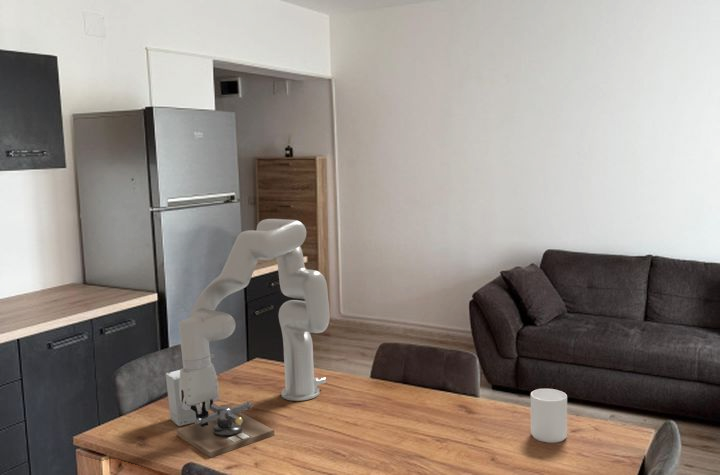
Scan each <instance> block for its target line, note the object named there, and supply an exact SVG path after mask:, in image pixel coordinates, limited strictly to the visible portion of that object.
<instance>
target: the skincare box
mask: <svg viewBox="0 0 720 475" xmlns="http://www.w3.org/2000/svg"><path fill="white" fill-rule="evenodd" d="M180 370H181V369H177V370H173V371H170V372H166V373H165V379H166V380H165V381H166V382H165V383H166V389H167V398H168V407H169V408H168V409H169V418H170V420H171V421H172V422H173V423H174V424H175V425H177V426H178V427H183V426H186V425H191V424H195V423H194V421H195V419H196V412H195V411H193V410H183V409H182V404H183V402H181V401H180V393H179V379H180Z"/></svg>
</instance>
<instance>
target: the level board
mask: <svg viewBox="0 0 720 475" xmlns="http://www.w3.org/2000/svg"><path fill="white" fill-rule="evenodd" d="M234 415H236V416H238V417H241V418H242V420H243V422H242V431H241V432H240V433H238V434H236V435H233V436H228V437H220V436H216V435H214V433H213V427H214V426H215V425H217V424H218V422H217V419H216V420H213V421H210V422H208V425H207V426H206V425H205V426H204V427H202V426H200V425H199V426H197V425H195V424H193V425H189V426H187V427H183V428H180V429H177V430H176V435H177V437H179V438H181V439H182V440H184V441H185V442H187V444H189V445H190V446H192V447H194V448H195V449H197V450H199V451H200V452H201V453H203V454H204V455H206V456H208V457H209V458H214V457H217V456H219V455H222V454H225V453H228V452H231V451H233V450H236V449H239V448H241V447H245V446H247V445H250V444H254V443H255V442H259V441H261V440H264V439H267V438H270V437H273V436H275V430H274V429H273V428H271V427H269V426H267V425H265V424H263V423H262V422H260V421H258V420H256V419H254V418H252V417H251V416H248V415H246V414H244V413H243V412H242V411H241V412H238V413H234Z"/></svg>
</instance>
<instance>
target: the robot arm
mask: <svg viewBox="0 0 720 475" xmlns="http://www.w3.org/2000/svg"><path fill="white" fill-rule="evenodd" d="M306 237H307V229H306V226H305V224H303V223H302V221H299V220H296V219H283V218H282V219H281V218H266V219H263V220H262V219H261V221H259V222H258V224H257V226H256V230H253V229H252V230H245V231H241V233H239V234H238V235H237V237H236V240H235V241H234V244H233V246H232V248H231V251H230V252H229V255H228V258H227V259H226V262H225V264H224V265H223V268H222V271H221V272H220V273H219V275H218V276H216V278H214V279H213V280H212V281H211V282H210V283H209V284H208V285H207V286H206V287H205V288H204V289H203V290H202V291H201V292H200V294H199V296H198V297H197V299H196V301H195V303H194V305H193V308H192V310H191V312H190V315H189V317H188V318H187V317H186V318H185V319H183V320H181V321H180V322H179V324H178V330H179V341H180V351H181V358H182V367H183V368H182V367H181V368H180V369H179V370H180V379H179V393H180V401H181V402H183V404H182V409H183V410H193V411H195V412H196V418H198V417H203V416H206V415H209V411H211V410H210V406H211V405H212V403H215V402H217V401H218V400H220V396H219V395H220V394H219V392H220V391H219V382H218V376H217V373H216V370H215V367H214V366H215V365H214V364H213V362H212V360H213V359H215V354H214V353H211V350H210V342H213V341H219V340H225V339H227V338H229V337H230V336H232V335H233V333H234V332H235V330H236V321H235V318H234V317H233V316H232V315H231V314H229V313H226V312H224V311H217V310H216V309H217V306H218V305H219V304H220V303H221V302H222V300H223V299H225V298H226V297H228V296H229V295H231V294H234V293H236V292H238V291H241V290H242V289H244V288H246V287H247V286H248V285H249V284H250V281H251V278H252V277H253V274H254V272H255V269H256V266H257V265H258V262H259V260H263V261H264V260H265V261H272V260H275V259H276V263H277V272H278V279H279V280H278V281H279V286H280V287H279V288H280V291H281V293H282V294H283V295H284V296H286V297H288V298H292V299H290V300H287V301H285V302H283V303H282V305H281V306H280V307H279V309H278V310H279V311H278V321H279V325H280V329H281V334H282V343H283V360H284V361H283V363H284V379H285V380H284V382H285V388H283V389H282V390H281V395H280V396H281V398H282V399H284V400H287V401H291V402H292V401H295V402H300V401H302V402H303V401H308V400H311V399H314V398H316V397H318V396H319V394H320V388H319V386H320V385H322V384H325V383H327V379H326V377H320V378H319V377H317V376H316V377H315V371H314V370H315V368H314V348H313V338H312V336H311V333H312V334H320V333H323V332H325V331H326V330H327V329H328V327H329V324H330V319H331V314H330V302H329V290H328V283H327V280H326V278H325V276H324V274H322V273H321V272H320V271H319V270H315V269H309V268H307V267H306V266H305V261H304V254H303V249H302V247H301V246H302V245H303V244H304V243H305V240H306ZM298 299H300V300H298ZM205 425H206V426H207V425H208V422H206V423H203V424H201V425H200V426H202V427H204V426H205Z"/></svg>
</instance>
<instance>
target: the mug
mask: <svg viewBox="0 0 720 475" xmlns="http://www.w3.org/2000/svg"><path fill="white" fill-rule="evenodd" d="M530 434H531V436H532V437H533V438H534V439H535V440H537V441H539V442H543V443H547V444H555V443H556V444H557V443H560V442H562V441H564V440H565V439H566V438H567V435H568V395H567V394H566V392H563V391H562V390H558V389H553V388H537V389H535V390H533V391H531V392H530Z"/></svg>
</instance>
